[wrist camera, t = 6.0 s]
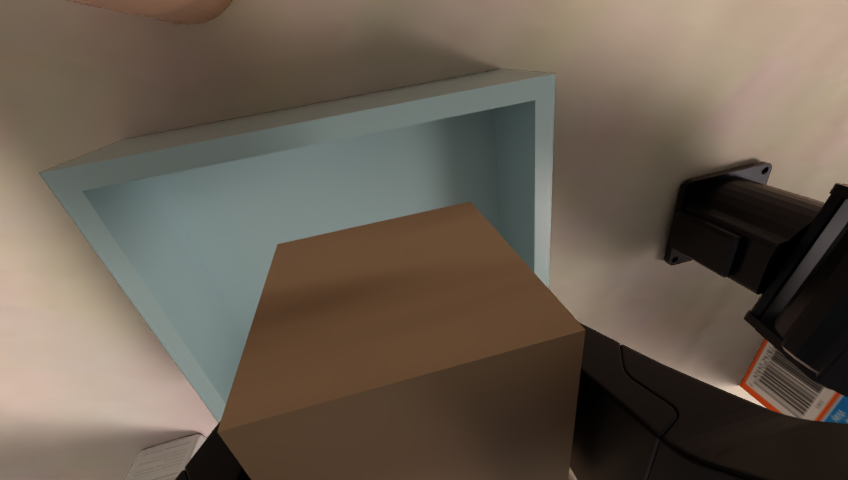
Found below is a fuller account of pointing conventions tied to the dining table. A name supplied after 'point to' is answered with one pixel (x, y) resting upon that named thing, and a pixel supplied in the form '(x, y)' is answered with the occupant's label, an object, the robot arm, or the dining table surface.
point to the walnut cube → (406, 359)
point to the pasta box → (791, 389)
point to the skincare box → (165, 459)
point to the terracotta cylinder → (166, 8)
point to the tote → (302, 197)
